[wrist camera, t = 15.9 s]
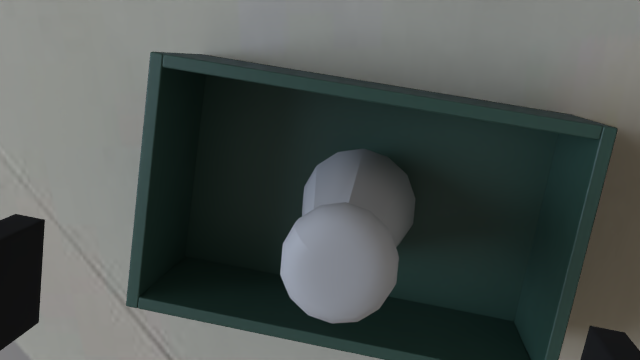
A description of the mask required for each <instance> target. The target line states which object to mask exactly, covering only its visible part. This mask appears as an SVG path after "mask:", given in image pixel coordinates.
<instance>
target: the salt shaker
mask: <svg viewBox="0 0 640 360" xmlns="http://www.w3.org/2000/svg"><path fill="white" fill-rule="evenodd" d="M414 210H415V196H414V193H413V190H412V187H411V184H410V181H409V178H408V175H407V174H406V173H405V172H404V171H403V170H402V169H401V168H399V167H398V166H397V165H396V164H395V163H394V162H393V161H392V160H391V159H390V158H389V157H387V156H384V155H381V154H378V153H375V152H372V151H369V150H367V149H356V150H349V151H342V152H337V153H336V154H334V155H332V156H331V157H329V158H328V159H326V160H325V161H323V162H321V163H320V164H318V165H317V166H316V168H315V169H314V171H313V173H312V174H311V176H310V178H309V179H308V181H307V183H306V185H305V186H304V194H303V206H302V217H300V218H299V219H298V220H297V221H296V222H295V224H294V225H293V227H292V229H291V231H290V232H289V234H288V236H287V237H286V239H285V241H284V242H283V247H282V259H281V270H280V275H281V278H282V280H283V283H284V285H285V287H286V290H287V292H288V295H289V297H290V298H291V299H292V300H293V301H294V302H295V303H296V304H297V305H298V306H299V307H300V308H301V309H302V310H303V311H304V312H305V313H306V314H307V315H309V316H312V317H315V318H317V319H320V320H323V321H326V322H329V323H332V324H333V323H347V322H358V321H360V320H361V319H363V318H365V317H367V316H368V315H370V314H372V313H373V312H375V311H377V310H378V309H380V307H381V306H382V304H383V303H384V301H385V300H386V298H387V297H388V295H389V294H390V292H391V291H392V290H393V288H394V286H395V285H396V282H397V272H398V262H399V256H398V251H397V249H396V247H397V246H398V245H399V244H400V242H401V241H402V240H403V238H404V237H405V235H406V234H407V232H408V231H409V229H410V228H411V226H412V225H413V221H414Z"/></svg>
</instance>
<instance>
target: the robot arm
mask: <svg viewBox="0 0 640 360" xmlns="http://www.w3.org/2000/svg"><path fill="white" fill-rule="evenodd" d="M44 223H45V220H43V219H38V218H33V217H28V216H23V215H18V214H15V215H12V216H10V217H7V218H5V219H2V220H0V350H2V349H3V348H4V347H6V346H7V345H9V344H10V343H11V342H13V341H14V340H15V339H17V338H18V337H19V336H21V335H22V334H24V333H25V332H26V331H28V330H29V329H30V328H32V327H33V326H34V325H36V324H37V323H38V322H39V308H40V291H41V274H42V257H43V240H44ZM581 360H640V351H639V349H638V348H637V347H636V346H635V345H634V343H633V342H632V341H631V340H630V338H629V337H628V336H627V335H626V333H625V332H619V331H614V330H609V329H604V328H599V327H594V326H590V327H589V331H588V335H587V339H586V342H585V346H584V350H583V353H582V357H581Z"/></svg>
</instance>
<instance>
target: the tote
mask: <svg viewBox="0 0 640 360" xmlns="http://www.w3.org/2000/svg"><path fill="white" fill-rule="evenodd" d="M616 134H617V128H615V127H611V126H608V125H605V124H601V123H598V122H594V121H591V120H588V119H584V118H581V117H578V116H574V115H570V114H564V113H558V112H552V111H546V110H540V109H534V108H528V107H521V106H515V105H509V104H503V103H497V102H491V101H485V100H478V99H472V98H466V97H460V96H454V95H448V94H442V93H436V92H429V91H423V90H417V89H411V88H405V87H399V86H393V85H386V84H380V83H374V82H368V81H362V80H356V79H350V78H344V77H337V76H331V75H325V74H319V73H313V72H307V71H301V70H294V69H288V68H282V67H276V66H270V65H264V64H258V63H252V62H245V61H239V60H233V59H227V58H221V57H215V56H209V55H202V54H185V53H165V52H151V53H150V64H149V74H148V84H147V95H146V105H145V115H144V126H143V136H142V146H141V157H140V167H139V177H138V188H137V198H136V208H135V219H134V229H133V239H132V249H131V260H130V270H129V280H128V291H127V301H126V306H129V307H134V308H139V309H144V310H149V311H154V312H158V313H163V314H168V315H173V316H178V317H182V318H187V319H192V320H197V321H202V322H206V323H211V324H216V325H221V326H226V327H231V328H235V329H240V330H245V331H250V332H255V333H259V334H264V335H269V336H274V337H279V338H283V339H288V340H293V341H298V342H303V343H307V344H312V345H317V346H322V347H327V348H332V349H336V350H341V351H346V352H351V353H356V354H360V355H365V356H370V357H375V358H380V359H384V360H558V359H559V355H560V352H561V348H562V344H563V340H564V336H565V332H566V328H567V324H568V320H569V317H570V313H571V309H572V305H573V301H574V297H575V293H576V289H577V285H578V282H579V278H580V274H581V270H582V266H583V262H584V258H585V254H586V250H587V247H588V243H589V239H590V235H591V231H592V227H593V223H594V219H595V215H596V212H597V208H598V204H599V200H600V196H601V192H602V188H603V184H604V180H605V177H606V173H607V169H608V165H609V161H610V157H611V153H612V149H613V145H614V142H615V138H616ZM356 149H367V150H369V151H372V152H375V153H378V154H381V155H384V156H387V157H389V158H390V159H391V160H392V161H393V162H394V163H395V164H396V165H397V166H398V167H399V168H401V169H402V170H403V171H404V172H405V173H406V174H407V175H408V178H409V181H410V184H411V187H412V190H413V193H414V196H415V210H414V221H413V225H412V226H411V228H410V229H409V231H408V232H407V234H406V235H405V237H404V238H403V240H402V241H401V242H400V244H399V245H398V246H397V247H396V249H397V251H398V256H399V262H398V272H397V282H396V285H395V286H394V288H393V290H392V291H391V292H390V294H389V295H388V297H387V298H386V300H385V301H384V303H383V304H382V306H381V307H380V309H378V310H377V311H375V312H373V313H372V314H370V315H368V316H367V317H365V318H363V319H361V320H360V321H358V322H347V323H333V324H332V323H329V322H326V321H323V320H320V319H317V318H315V317H312V316H309V315H307V314H306V313H305V312H304V311H303V310H302V309H301V308H300V307H299V306H298V305H297V304H296V303H295V302H294V301H293V300H292V299H291V298H290V297H289V295H288V292H287V290H286V287H285V285H284V283H283V280H282V278H281V275H280V270H281V259H282V247H283V242H284V241H285V239H286V237H287V236H288V234H289V232H290V231H291V229H292V227H293V225H294V224H295V222H296V221H297V220H298V219H299V218H300V217H302V206H303V194H304V186H305V185H306V183H307V181H308V179H309V178H310V176H311V174H312V173H313V171H314V169H315V168H316V166H317V165H318V164H320V163H321V162H323V161H325V160H326V159H328V158H329V157H331V156H332V155H334V154H336V153H337V152H342V151H349V150H356Z"/></svg>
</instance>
